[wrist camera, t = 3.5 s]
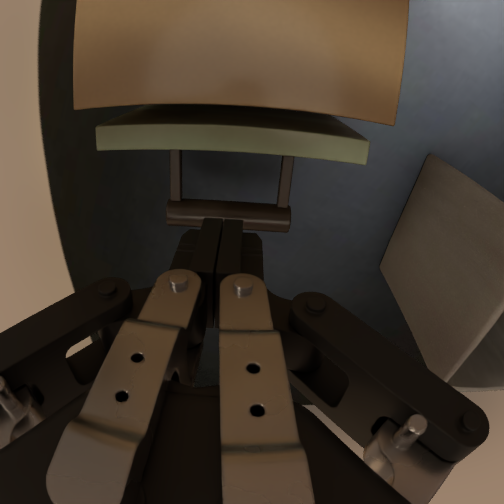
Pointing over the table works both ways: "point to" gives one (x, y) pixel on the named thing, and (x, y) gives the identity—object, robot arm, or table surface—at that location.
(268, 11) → the cabinet
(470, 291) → the planter
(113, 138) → the drawer
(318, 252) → the table surface
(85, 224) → the table surface
